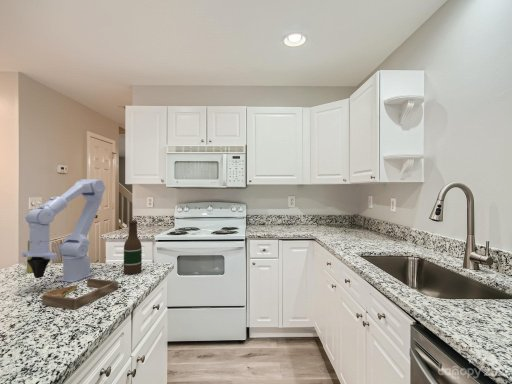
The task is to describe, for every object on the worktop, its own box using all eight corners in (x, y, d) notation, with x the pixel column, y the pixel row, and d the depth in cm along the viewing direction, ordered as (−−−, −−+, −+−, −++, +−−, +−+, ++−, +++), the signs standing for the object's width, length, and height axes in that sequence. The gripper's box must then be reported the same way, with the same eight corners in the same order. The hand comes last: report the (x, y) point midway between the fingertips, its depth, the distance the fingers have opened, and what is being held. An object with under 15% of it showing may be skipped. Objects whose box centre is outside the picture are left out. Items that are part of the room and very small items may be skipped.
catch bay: (89, 285, 103) (89, 278, 103) (117, 289, 100) (118, 281, 100) (42, 304, 86) (42, 295, 86) (75, 309, 83) (75, 300, 83)
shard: (78, 288, 102) (78, 283, 102) (84, 293, 97) (84, 288, 97) (42, 296, 94) (42, 291, 94) (47, 302, 89) (47, 297, 89)
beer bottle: (136, 269, 126) (136, 219, 126) (145, 272, 122) (145, 220, 122) (119, 273, 120) (120, 220, 120) (128, 276, 115) (129, 222, 115)
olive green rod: (35, 268, 125) (35, 238, 125) (46, 269, 124) (47, 239, 124) (22, 272, 119) (22, 241, 119) (34, 273, 118) (34, 241, 118)
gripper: (12, 241, 96) (12, 278, 96) (43, 244, 92) (42, 282, 92) (33, 238, 103) (32, 273, 102) (62, 240, 99) (62, 276, 99)
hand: (39, 277), depth 98 cm, fingers closed
